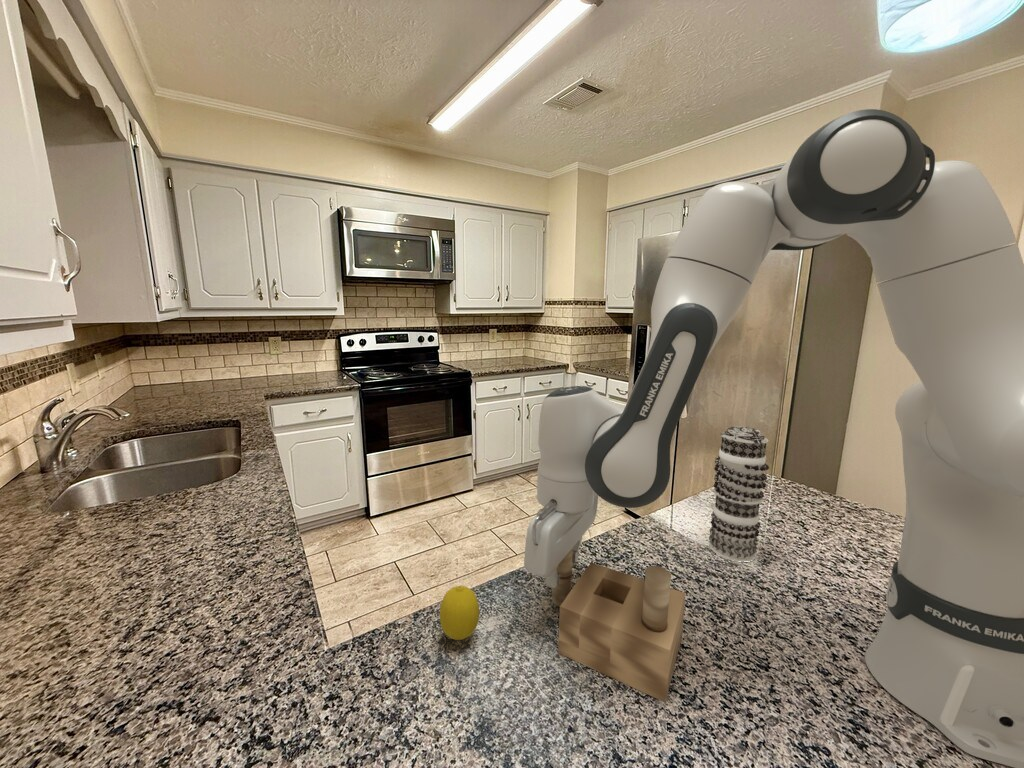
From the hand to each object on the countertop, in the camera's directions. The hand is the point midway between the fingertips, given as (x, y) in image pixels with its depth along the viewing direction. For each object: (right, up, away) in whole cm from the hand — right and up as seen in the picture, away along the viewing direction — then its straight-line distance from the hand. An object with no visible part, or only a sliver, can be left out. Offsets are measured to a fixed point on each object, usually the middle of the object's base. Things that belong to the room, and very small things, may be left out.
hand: (562, 571), depth 65 cm
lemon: (-15, -6, -7) cm, 18 cm away
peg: (0, -5, +1) cm, 5 cm away
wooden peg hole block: (+7, -7, -8) cm, 13 cm away
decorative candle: (+36, -4, +16) cm, 40 cm away
